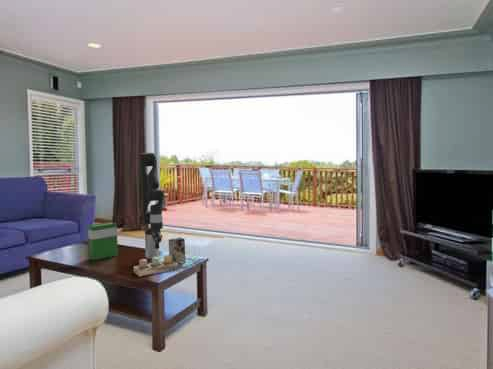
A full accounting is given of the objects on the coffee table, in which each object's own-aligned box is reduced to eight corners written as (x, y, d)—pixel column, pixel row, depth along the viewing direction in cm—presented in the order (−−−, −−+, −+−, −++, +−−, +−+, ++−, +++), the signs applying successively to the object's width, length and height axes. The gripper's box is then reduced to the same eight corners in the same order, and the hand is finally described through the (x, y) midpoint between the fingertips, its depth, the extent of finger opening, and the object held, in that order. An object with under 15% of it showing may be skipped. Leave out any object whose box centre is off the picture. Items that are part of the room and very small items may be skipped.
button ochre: (163, 263, 239) (162, 255, 238) (169, 262, 241) (169, 254, 241) (165, 264, 235) (165, 257, 235) (172, 263, 237) (172, 256, 237)
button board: (133, 271, 231) (133, 266, 231) (171, 264, 245) (171, 259, 245) (139, 276, 222) (139, 270, 222) (178, 268, 236) (177, 263, 236)
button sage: (151, 265, 234) (150, 257, 234) (158, 264, 237) (157, 256, 236) (153, 267, 230) (153, 259, 230) (160, 265, 233) (160, 258, 233)
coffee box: (181, 260, 256) (180, 237, 255) (185, 262, 251) (185, 238, 249) (169, 262, 250) (168, 239, 249) (173, 264, 245) (172, 240, 244)
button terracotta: (138, 267, 230) (138, 259, 229) (145, 266, 232) (145, 258, 232) (140, 269, 226) (140, 261, 226) (148, 268, 229) (148, 260, 228)
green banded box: (113, 253, 276) (111, 221, 274) (117, 255, 271) (116, 223, 269) (89, 258, 263) (87, 225, 261) (94, 260, 258) (92, 226, 256)
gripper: (146, 220, 235) (147, 247, 236) (154, 223, 224) (155, 251, 225) (158, 219, 239) (158, 245, 240) (166, 221, 229) (167, 249, 230)
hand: (157, 248), depth 233 cm, fingers closed
